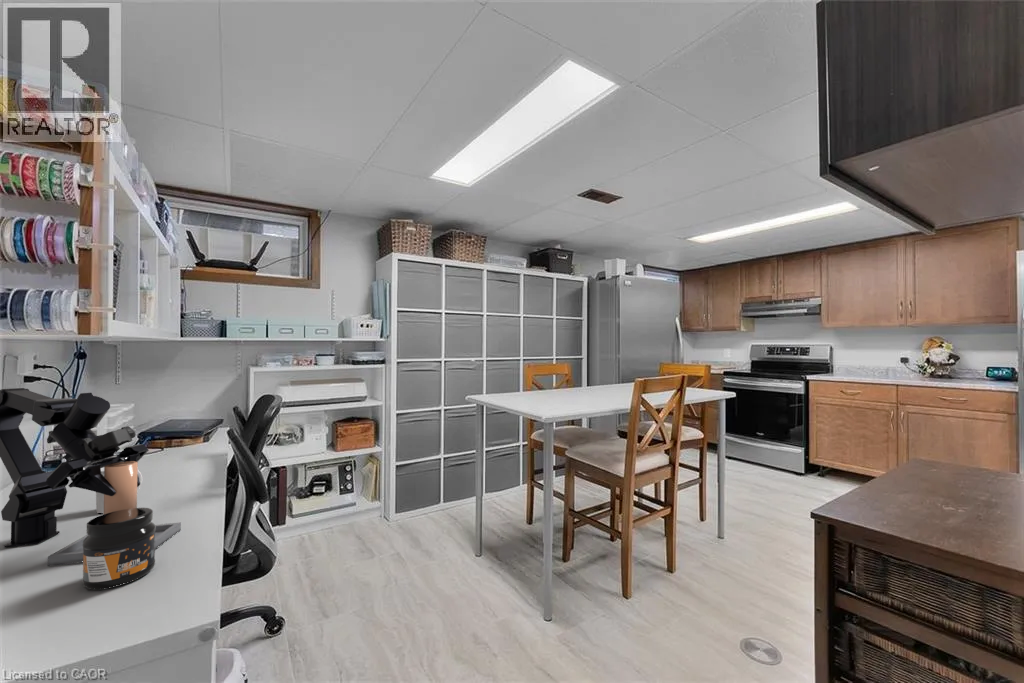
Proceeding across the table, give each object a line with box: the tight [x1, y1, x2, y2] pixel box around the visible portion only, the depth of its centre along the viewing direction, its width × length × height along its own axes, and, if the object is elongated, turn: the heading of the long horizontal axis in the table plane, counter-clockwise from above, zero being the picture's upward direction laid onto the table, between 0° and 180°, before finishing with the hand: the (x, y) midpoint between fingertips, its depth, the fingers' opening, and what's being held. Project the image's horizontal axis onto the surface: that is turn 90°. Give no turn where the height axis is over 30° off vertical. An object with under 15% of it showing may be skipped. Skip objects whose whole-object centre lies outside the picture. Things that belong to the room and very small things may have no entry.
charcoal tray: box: [47, 522, 182, 567], centre depth 95 cm, size 18×13×2 cm
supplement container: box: [81, 507, 156, 590], centre depth 82 cm, size 10×10×12 cm
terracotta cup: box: [102, 461, 139, 515], centre depth 95 cm, size 6×6×12 cm
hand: (126, 490), depth 95 cm, fingers closed on terracotta cup, 6 cm apart
